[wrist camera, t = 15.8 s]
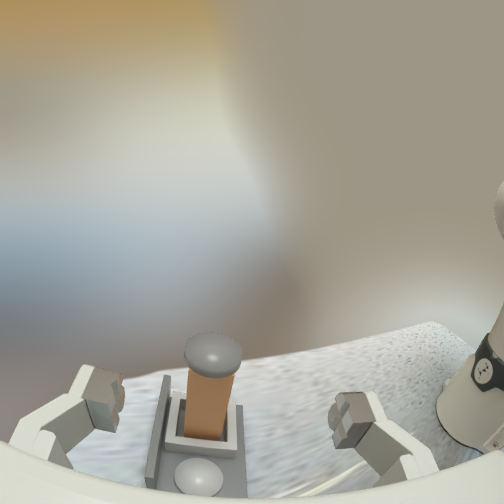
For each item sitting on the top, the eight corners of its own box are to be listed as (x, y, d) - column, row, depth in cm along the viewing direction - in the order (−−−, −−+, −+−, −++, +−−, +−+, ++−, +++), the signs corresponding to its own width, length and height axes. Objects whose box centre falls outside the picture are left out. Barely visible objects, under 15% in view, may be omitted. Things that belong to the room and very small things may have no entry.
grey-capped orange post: (224, 415, 35) (241, 335, 30) (224, 449, 30) (243, 373, 25) (181, 410, 34) (188, 328, 30) (177, 444, 30) (181, 365, 25)
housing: (241, 409, 38) (248, 385, 36) (246, 504, 25) (255, 488, 23) (163, 400, 36) (164, 374, 34) (148, 494, 23) (144, 476, 22)
